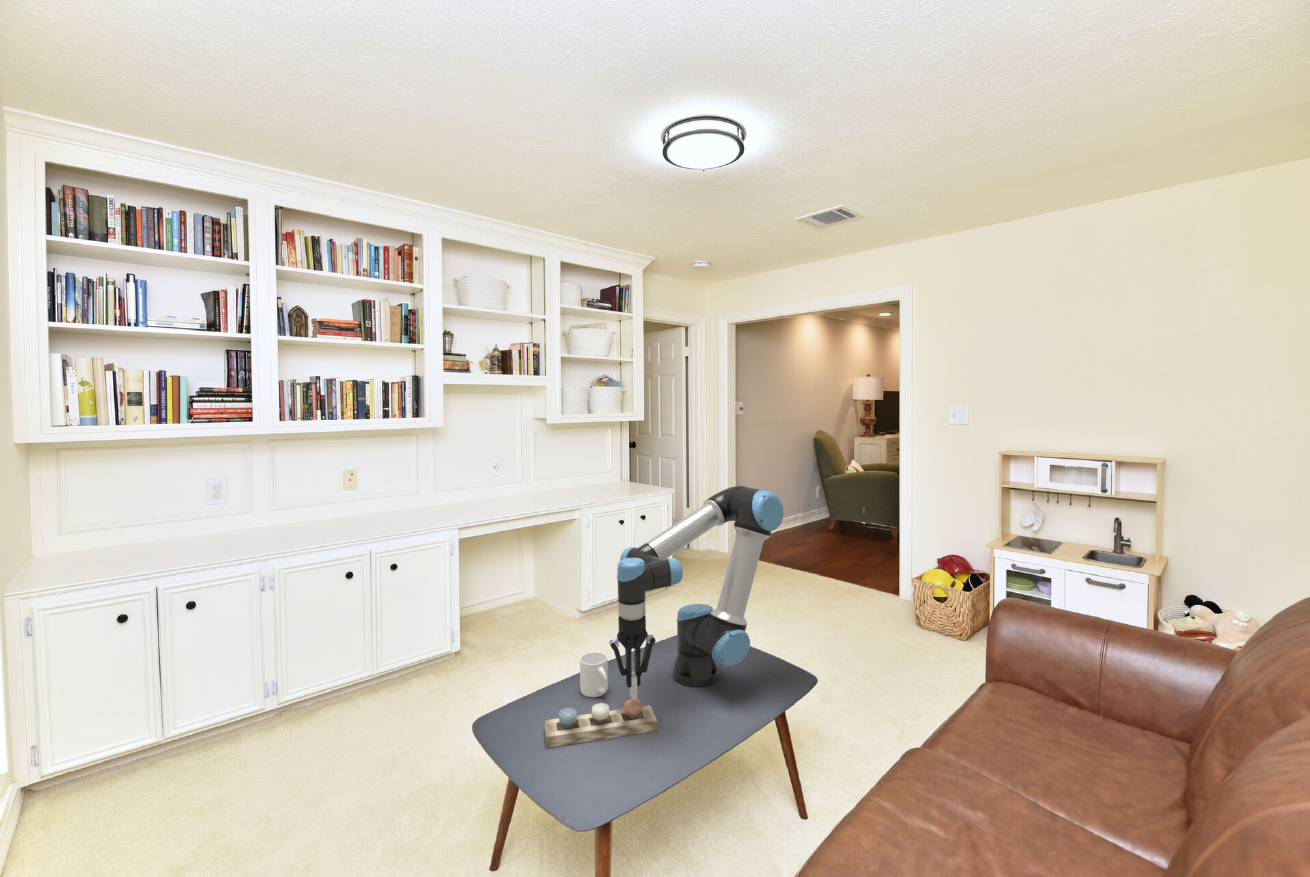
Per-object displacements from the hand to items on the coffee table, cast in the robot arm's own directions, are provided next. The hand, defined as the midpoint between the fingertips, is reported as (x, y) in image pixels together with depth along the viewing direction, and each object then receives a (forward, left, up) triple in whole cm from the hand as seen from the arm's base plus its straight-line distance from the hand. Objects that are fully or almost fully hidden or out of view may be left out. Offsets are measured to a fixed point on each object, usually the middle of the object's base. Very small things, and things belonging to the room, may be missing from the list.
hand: (633, 696), depth 162 cm
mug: (+7, -20, -9) cm, 23 cm away
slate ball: (+18, 0, -6) cm, 19 cm away
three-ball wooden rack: (+9, 0, -8) cm, 13 cm away
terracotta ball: (0, 0, -6) cm, 6 cm away
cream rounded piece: (+9, 0, -6) cm, 11 cm away
